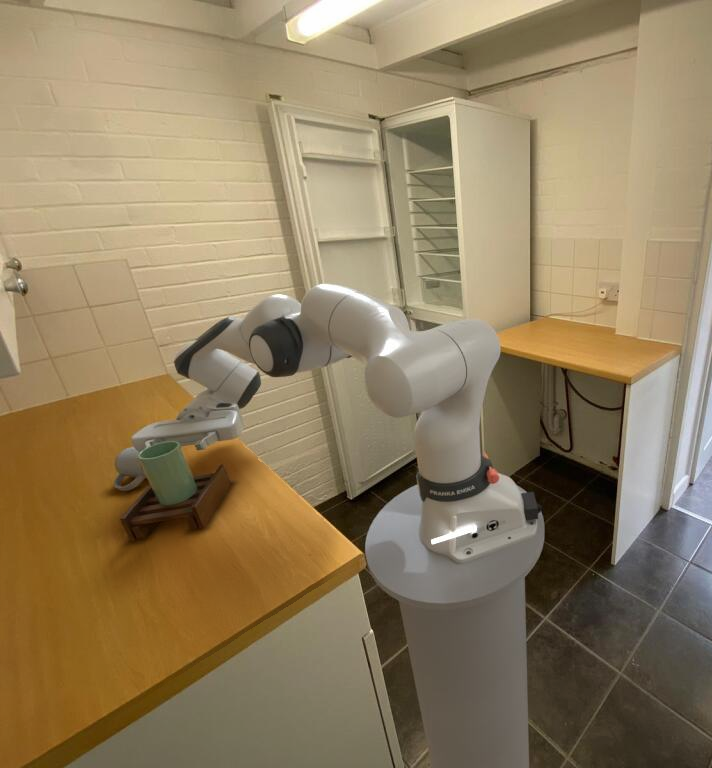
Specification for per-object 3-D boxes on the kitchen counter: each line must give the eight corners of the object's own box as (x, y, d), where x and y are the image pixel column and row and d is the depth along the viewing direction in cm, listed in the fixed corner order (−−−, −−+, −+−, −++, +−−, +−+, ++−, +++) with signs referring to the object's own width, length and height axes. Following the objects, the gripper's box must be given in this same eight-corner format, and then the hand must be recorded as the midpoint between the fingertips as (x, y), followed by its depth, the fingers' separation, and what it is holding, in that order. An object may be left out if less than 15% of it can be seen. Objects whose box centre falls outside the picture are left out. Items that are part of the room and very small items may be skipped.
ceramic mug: (147, 464, 104) (134, 438, 101) (177, 465, 104) (165, 439, 100) (106, 492, 95) (90, 464, 92) (138, 493, 94) (124, 465, 91)
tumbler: (203, 482, 90) (185, 438, 86) (189, 501, 84) (170, 455, 80) (168, 487, 89) (148, 443, 85) (152, 507, 83) (130, 461, 79)
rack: (231, 483, 96) (224, 463, 94) (204, 528, 83) (195, 506, 81) (169, 493, 94) (160, 473, 91) (130, 541, 80) (119, 519, 78)
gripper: (146, 414, 96) (109, 445, 84) (244, 402, 100) (223, 430, 88) (156, 437, 99) (122, 471, 86) (251, 425, 103) (231, 455, 91)
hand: (174, 450), depth 87 cm, fingers open, 8 cm apart
